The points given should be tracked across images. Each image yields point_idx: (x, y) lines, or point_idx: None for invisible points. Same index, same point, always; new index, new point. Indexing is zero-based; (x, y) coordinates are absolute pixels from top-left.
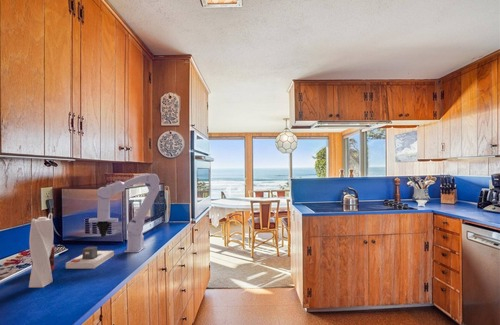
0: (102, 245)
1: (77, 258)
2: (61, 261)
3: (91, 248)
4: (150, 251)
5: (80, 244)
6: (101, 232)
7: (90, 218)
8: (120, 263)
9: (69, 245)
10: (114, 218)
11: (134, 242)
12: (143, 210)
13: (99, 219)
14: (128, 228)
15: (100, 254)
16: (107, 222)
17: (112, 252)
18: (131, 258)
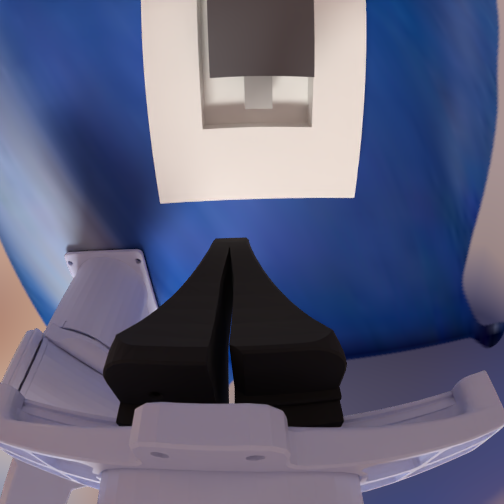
0: (343, 342)
1: (343, 18)
2: (448, 89)
3: (234, 13)
4: (32, 269)
5: (437, 338)
6: (237, 263)
7: (481, 442)
8: (43, 63)
9: (470, 322)
10: (31, 461)
11: (67, 295)
12: (3, 499)
13: (260, 474)
14: (98, 396)
15: (222, 127)
16: (126, 411)
17: (158, 181)
18: (35, 154)
